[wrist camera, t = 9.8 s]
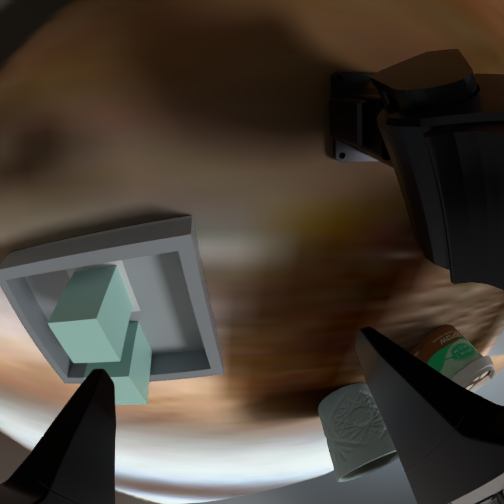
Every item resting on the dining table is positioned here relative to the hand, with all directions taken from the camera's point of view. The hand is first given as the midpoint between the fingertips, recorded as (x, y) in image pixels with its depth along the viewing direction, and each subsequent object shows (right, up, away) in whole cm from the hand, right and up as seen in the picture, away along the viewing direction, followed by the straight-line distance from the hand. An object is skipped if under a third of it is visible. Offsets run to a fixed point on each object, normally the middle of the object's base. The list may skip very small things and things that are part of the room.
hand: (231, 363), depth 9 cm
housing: (-11, -1, +14) cm, 18 cm away
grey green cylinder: (+14, -18, +28) cm, 36 cm away
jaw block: (-11, +1, +12) cm, 17 cm away
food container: (+26, -8, +25) cm, 37 cm away
